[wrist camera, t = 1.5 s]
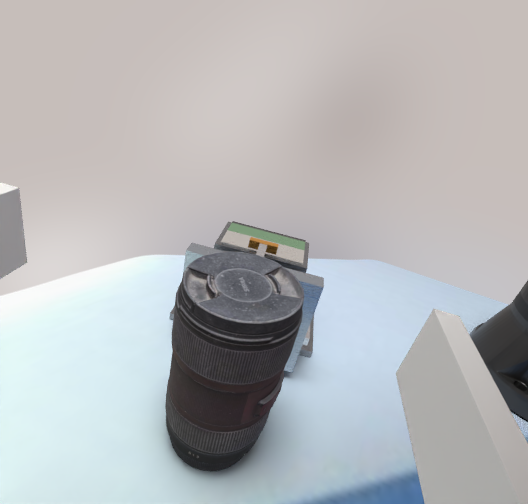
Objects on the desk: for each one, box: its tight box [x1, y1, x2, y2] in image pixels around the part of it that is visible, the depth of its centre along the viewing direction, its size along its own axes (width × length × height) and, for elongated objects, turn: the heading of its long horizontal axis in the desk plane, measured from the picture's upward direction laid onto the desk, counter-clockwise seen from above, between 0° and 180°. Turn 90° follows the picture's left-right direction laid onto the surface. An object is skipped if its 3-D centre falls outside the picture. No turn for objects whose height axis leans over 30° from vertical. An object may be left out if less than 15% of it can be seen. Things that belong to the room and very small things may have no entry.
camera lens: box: [166, 252, 304, 471], centre depth 25 cm, size 8×8×15 cm
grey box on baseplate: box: [170, 222, 314, 357], centre depth 41 cm, size 16×10×9 cm, turn 80°
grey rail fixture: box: [183, 237, 324, 373], centre depth 38 cm, size 14×12×10 cm
